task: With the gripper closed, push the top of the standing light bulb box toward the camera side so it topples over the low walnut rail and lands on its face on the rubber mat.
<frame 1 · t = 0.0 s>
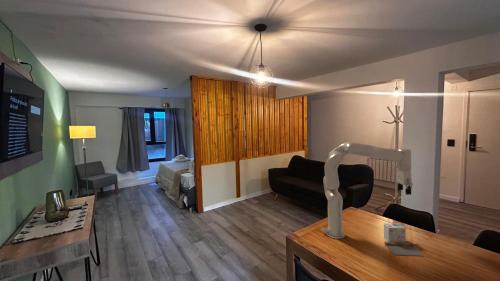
hand: (404, 192, 144), 31 cm above the table, fingers open, 9 cm apart
rail: (398, 245, 136), on the table
mat: (403, 250, 130), on the table
light bulb box: (394, 241, 142), on the table
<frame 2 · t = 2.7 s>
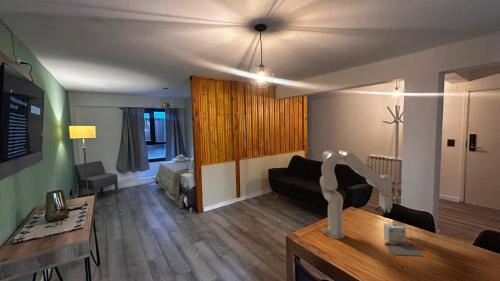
hand: (386, 217, 153), 11 cm above the table, fingers closed
nothing on the table moved.
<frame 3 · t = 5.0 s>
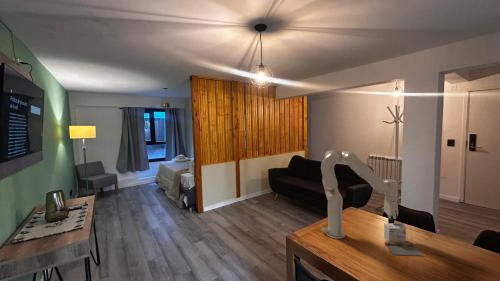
hand: (391, 224, 145), 9 cm above the table, fingers closed
light bulb box: (394, 240, 142), on the table, touching gripper
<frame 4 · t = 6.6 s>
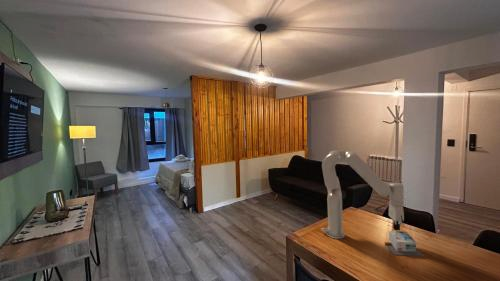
hand: (396, 229, 138), 9 cm above the table, fingers closed
light bulb box: (397, 235, 139), point 5 cm above the table, touching mat, rail
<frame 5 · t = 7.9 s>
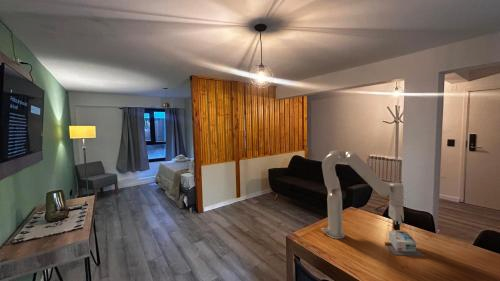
hand: (396, 229, 138), 9 cm above the table, fingers closed
nothing on the table moved.
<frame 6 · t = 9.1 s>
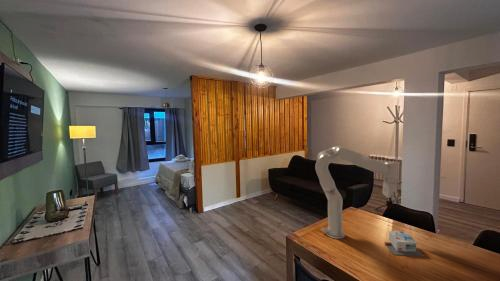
hand: (389, 206, 145), 22 cm above the table, fingers closed
nothing on the table moved.
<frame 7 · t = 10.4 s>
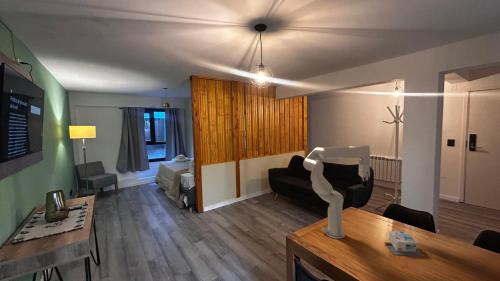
hand: (364, 186, 159), 32 cm above the table, fingers closed
nothing on the table moved.
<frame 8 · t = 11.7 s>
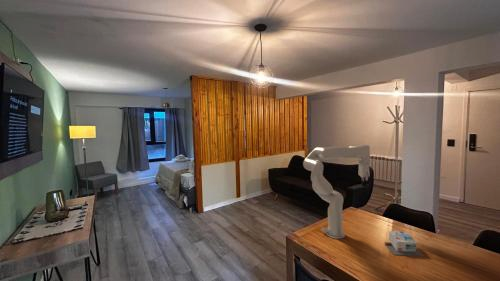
hand: (364, 185, 159), 32 cm above the table, fingers closed
nothing on the table moved.
at the end: light bulb box tilted 98°; light bulb box inside the target area on the mat (6.3 cm from its centre), point 5.3 cm above the mat's base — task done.
